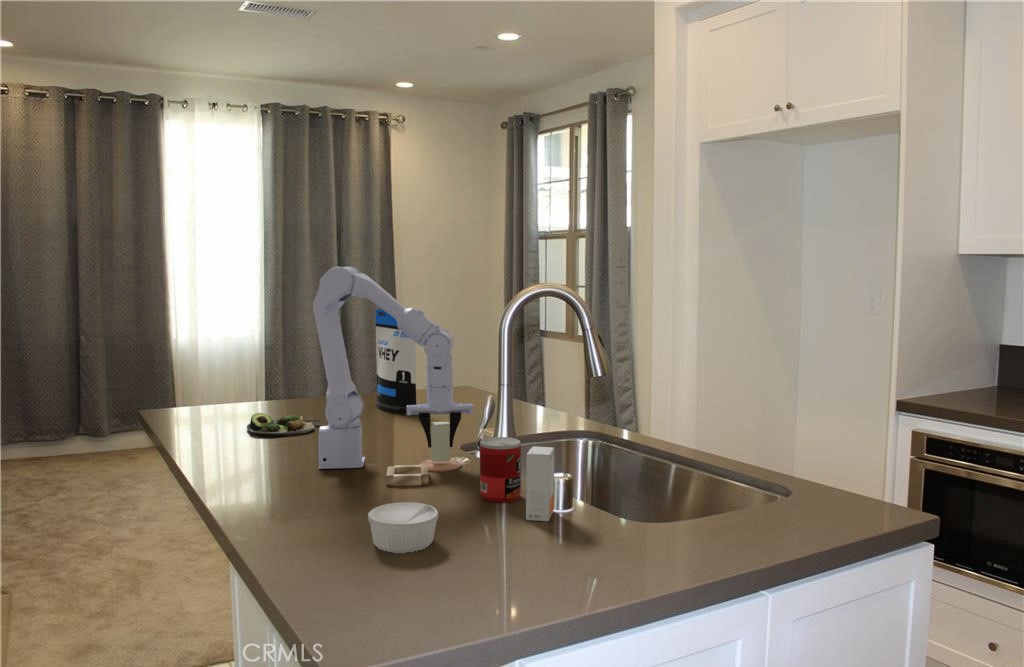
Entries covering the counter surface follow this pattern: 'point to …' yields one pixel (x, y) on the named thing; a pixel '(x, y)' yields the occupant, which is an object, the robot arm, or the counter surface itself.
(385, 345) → the protein powder
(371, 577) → the counter surface
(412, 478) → the oak holder
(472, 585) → the counter surface
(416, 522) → the ramekin
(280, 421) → the salad plate
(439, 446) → the sage peg
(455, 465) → the terracotta coaster
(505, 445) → the canned food
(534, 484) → the skincare box
